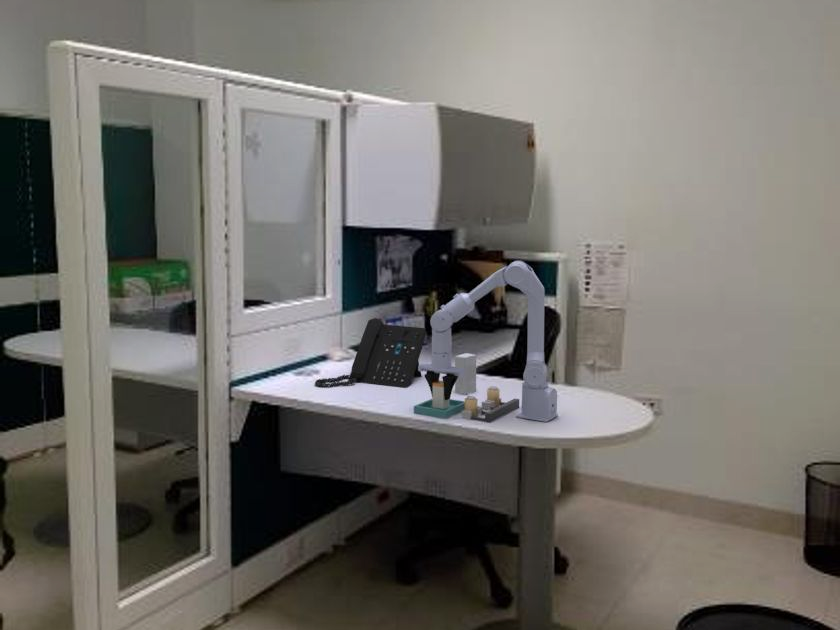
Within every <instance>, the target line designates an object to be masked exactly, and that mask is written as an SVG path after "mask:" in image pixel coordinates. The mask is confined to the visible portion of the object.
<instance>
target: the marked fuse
mask: <svg viewBox="0 0 840 630" xmlns="http://www.w3.org/2000/svg"><path fill="white" fill-rule="evenodd" d="M432 399H433V407H434V408H440V409H445V408H447V407H449V406H450V399H451V398H450V399H448V400H445V398H444V383H443V380H439V381H436V382H434V383H433V398H432Z"/></svg>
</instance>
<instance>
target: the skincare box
mask: <svg viewBox="0 0 840 630" xmlns="http://www.w3.org/2000/svg"><path fill="white" fill-rule="evenodd" d="M454 367H457V368H460V369H465V376H464V377H459V376H458V378H457V380H456V382H455V384H454V393H455V394H460V395H464V396H467V395H468V394H471V393H475V392H476V391H477V355H476V354H473V353H468V352H467V353H466V352H465V353H462V354H459V355H455V356H454Z"/></svg>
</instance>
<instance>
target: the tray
mask: <svg viewBox="0 0 840 630" xmlns="http://www.w3.org/2000/svg"><path fill="white" fill-rule="evenodd" d="M463 410H465V400H459V399H458V400H457V399H451V398H450V406H449V407H447V408H445V409H440V408H434V407H433V398H429V399H428V400H425V401H423V402H420V403H418V404H416V405H414V406H413V414H416V415H422V416H428V417H435V418H440V419H446V420H447V419H449V418H451V417H453V416H455V415H457V414H459V413H462V411H463Z"/></svg>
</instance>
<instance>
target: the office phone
mask: <svg viewBox="0 0 840 630" xmlns="http://www.w3.org/2000/svg"><path fill="white" fill-rule="evenodd" d="M361 336H362V337H361V339H360V342H359V345H358V347H357V348H358V349H357V351H356V354H355V356H354V360H353V362H352V366H351V372H350V374H346V375H345V374H343V375H339V376H337V377H331V378H330V377H328V378H322V379H321V378H319V379H316V380H315V381H314V386H315V387H316V386H318V387H317V388H325V387H326V388H327V387H328V388H334V387H339V386H338V385H342V386H343V385H345V386H346V385H347V386H350V385H351V386H352V385H353V384H354V383H360V382H364V383H363V384H372V383H376V384H375V385H380V384H383V385H382V386H388V385H390V387H396V388H397V387H398V388H405V389H406V388H409V387H411V385H412V381H413V378H414V377H421V378H422V377H423V376H422V371H418V365H419V364H420V361H419V360H420V356H421V353H422V349H423V346H424V343H425V341H426V336H427V331H426V328H425V327H418V326H407V325H406V326H405V325H393V324H387V325H386V324H384V323H383V321H382V319H381V318H378V317H374V318H373V317H372V318H370V319H369V320H368V322H367V324H366V326H365V328H364V332H363V334H362V335H361ZM343 379H344V380H347V379H348V380H347V381H342V380H343ZM340 380H341V381H340ZM335 381H336V382H335ZM326 382H330V383H326ZM365 382H367V383H365ZM333 386H334V387H333Z"/></svg>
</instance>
